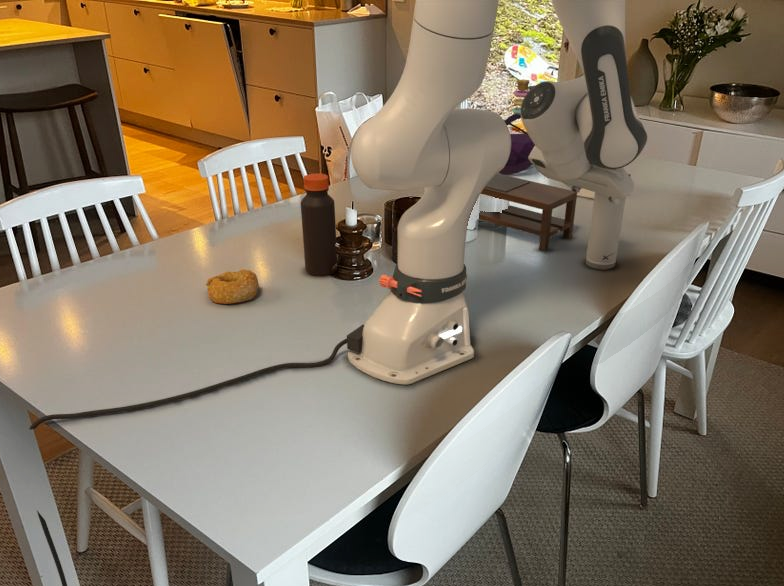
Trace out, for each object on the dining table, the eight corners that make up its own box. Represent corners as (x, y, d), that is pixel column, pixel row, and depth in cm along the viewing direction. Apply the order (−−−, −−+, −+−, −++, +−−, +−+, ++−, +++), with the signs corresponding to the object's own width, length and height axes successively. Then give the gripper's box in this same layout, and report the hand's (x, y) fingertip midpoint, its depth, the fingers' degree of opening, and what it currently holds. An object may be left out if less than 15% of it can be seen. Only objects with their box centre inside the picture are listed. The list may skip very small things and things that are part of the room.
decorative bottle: (466, 165, 227) (469, 78, 215) (512, 153, 239) (518, 71, 227) (521, 181, 213) (528, 90, 200) (567, 168, 225) (577, 81, 212)
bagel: (239, 279, 153) (236, 258, 151) (270, 296, 146) (268, 274, 144) (196, 294, 147) (192, 271, 145) (226, 312, 140) (223, 289, 138)
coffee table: (544, 252, 167) (549, 203, 162) (466, 229, 179) (468, 183, 174) (571, 237, 175) (577, 190, 169) (495, 216, 187) (497, 172, 182)
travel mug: (610, 272, 157) (625, 179, 147) (581, 265, 160) (593, 174, 150) (620, 263, 162) (634, 171, 152) (591, 256, 165) (603, 166, 155)
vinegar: (344, 270, 158) (340, 176, 148) (319, 279, 153) (313, 183, 143) (323, 261, 162) (317, 169, 152) (298, 270, 157) (291, 176, 147)
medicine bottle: (607, 193, 204) (613, 149, 198) (597, 200, 199) (603, 155, 193) (582, 188, 208) (587, 145, 202) (572, 195, 202) (577, 151, 196)
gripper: (627, 151, 131) (649, 194, 142) (538, 129, 144) (565, 170, 155) (608, 181, 131) (632, 222, 141) (521, 156, 144) (549, 195, 155)
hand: (596, 195), depth 148 cm, fingers open, 8 cm apart
